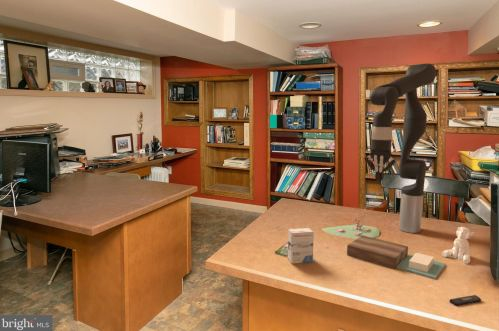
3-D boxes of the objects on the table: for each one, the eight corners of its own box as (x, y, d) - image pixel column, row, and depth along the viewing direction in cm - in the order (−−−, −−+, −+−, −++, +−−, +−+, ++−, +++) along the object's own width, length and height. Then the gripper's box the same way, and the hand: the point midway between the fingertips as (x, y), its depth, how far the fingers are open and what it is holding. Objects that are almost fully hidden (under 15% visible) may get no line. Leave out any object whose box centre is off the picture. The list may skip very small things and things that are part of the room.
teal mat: (408, 255, 132) (408, 254, 132) (445, 265, 124) (445, 263, 124) (396, 268, 122) (396, 266, 122) (435, 279, 114) (435, 277, 113)
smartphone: (273, 252, 135) (290, 239, 147) (273, 255, 135) (290, 242, 147) (290, 256, 131) (307, 243, 143) (290, 259, 131) (307, 245, 143)
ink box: (308, 256, 132) (309, 227, 130) (313, 262, 127) (314, 231, 125) (287, 258, 130) (287, 228, 128) (290, 263, 125) (291, 233, 124)
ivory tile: (433, 256, 124) (433, 263, 124) (415, 252, 127) (415, 259, 128) (427, 265, 117) (427, 272, 117) (409, 260, 120) (408, 267, 121)
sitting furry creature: (440, 256, 132) (443, 226, 130) (451, 250, 137) (453, 221, 135) (467, 264, 124) (471, 233, 122) (477, 258, 129) (481, 228, 127)
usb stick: (455, 307, 98) (455, 302, 98) (447, 302, 100) (448, 298, 100) (482, 303, 100) (482, 298, 100) (474, 298, 103) (474, 293, 102)
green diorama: (329, 241, 149) (330, 221, 147) (318, 225, 169) (319, 207, 168) (386, 240, 149) (388, 220, 148) (369, 225, 169) (370, 207, 168)
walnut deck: (362, 244, 143) (362, 235, 143) (407, 256, 132) (408, 246, 131) (346, 254, 133) (347, 245, 132) (394, 268, 121) (395, 258, 121)
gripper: (401, 138, 135) (399, 181, 138) (369, 137, 144) (367, 177, 147) (395, 139, 130) (392, 184, 132) (361, 138, 138) (359, 180, 141)
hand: (379, 180), depth 139 cm, fingers closed
